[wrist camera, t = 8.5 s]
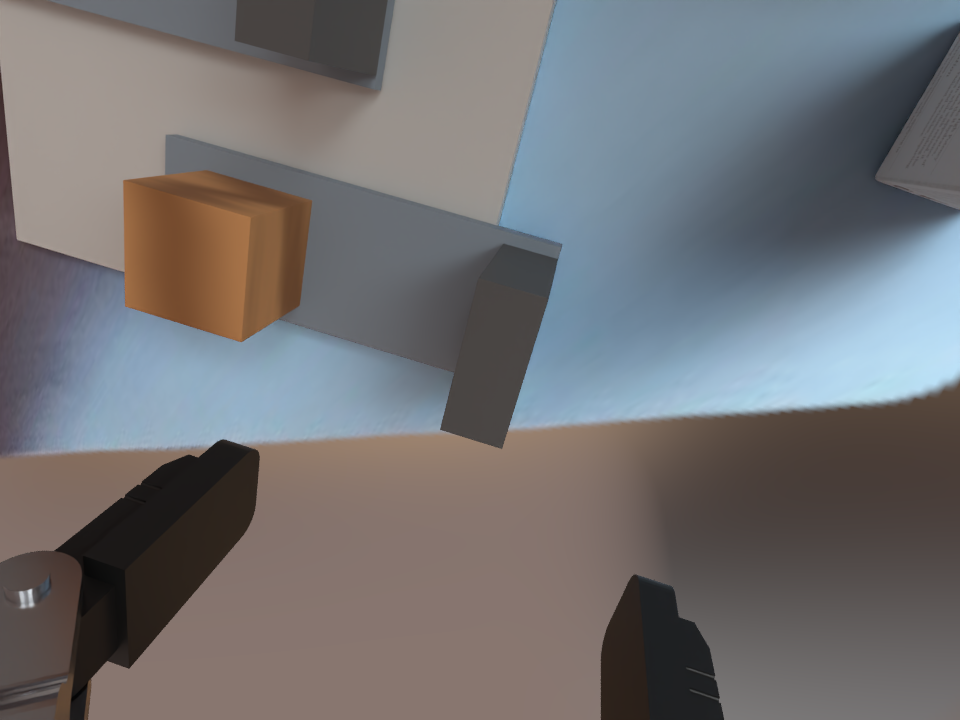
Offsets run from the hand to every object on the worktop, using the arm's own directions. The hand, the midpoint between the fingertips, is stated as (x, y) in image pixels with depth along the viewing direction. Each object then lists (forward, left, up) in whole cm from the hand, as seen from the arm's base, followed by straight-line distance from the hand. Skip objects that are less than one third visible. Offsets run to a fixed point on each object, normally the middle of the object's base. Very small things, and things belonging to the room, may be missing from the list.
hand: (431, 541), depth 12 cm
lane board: (+14, -5, -17) cm, 23 cm away
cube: (+13, 0, -15) cm, 20 cm away
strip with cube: (+8, 0, -16) cm, 18 cm away
